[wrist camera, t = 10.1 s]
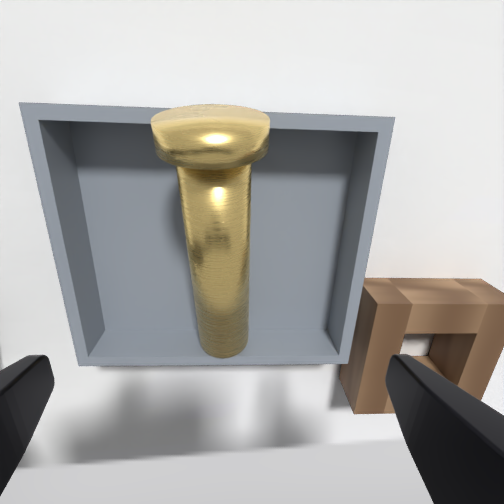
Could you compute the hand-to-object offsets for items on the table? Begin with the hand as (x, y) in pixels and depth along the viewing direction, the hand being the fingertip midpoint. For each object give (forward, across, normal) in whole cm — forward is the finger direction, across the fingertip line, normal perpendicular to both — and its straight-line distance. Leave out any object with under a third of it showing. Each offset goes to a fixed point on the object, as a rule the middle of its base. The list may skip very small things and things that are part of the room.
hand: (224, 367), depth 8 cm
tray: (+10, +1, 0) cm, 10 cm away
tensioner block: (+10, -12, +6) cm, 17 cm away
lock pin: (+8, 0, +5) cm, 10 cm away
